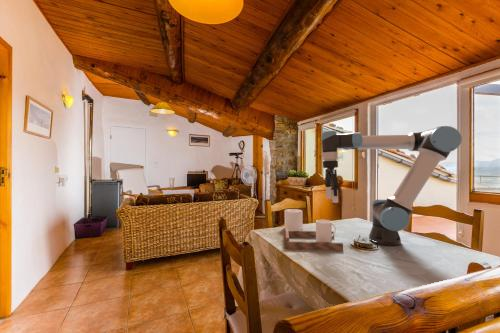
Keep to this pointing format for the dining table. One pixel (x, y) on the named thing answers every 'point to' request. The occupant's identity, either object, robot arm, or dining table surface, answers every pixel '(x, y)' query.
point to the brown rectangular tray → (309, 244)
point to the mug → (324, 231)
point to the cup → (294, 219)
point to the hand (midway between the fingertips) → (332, 200)
